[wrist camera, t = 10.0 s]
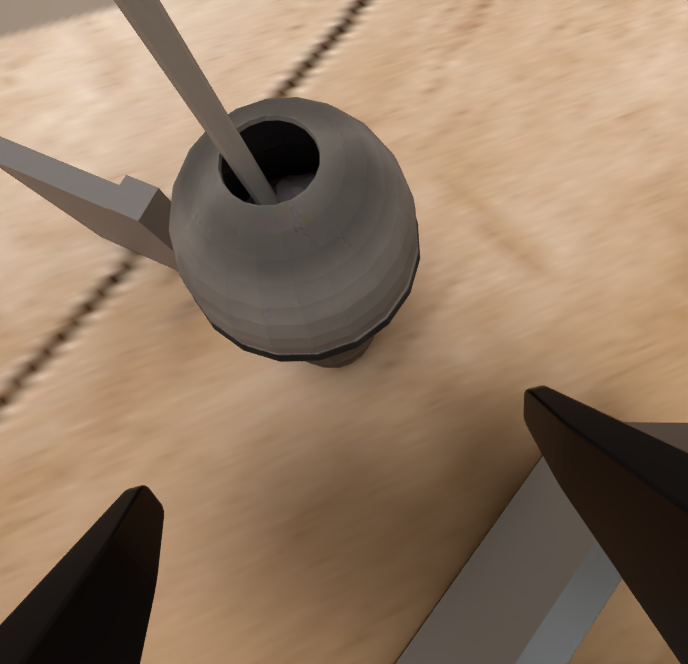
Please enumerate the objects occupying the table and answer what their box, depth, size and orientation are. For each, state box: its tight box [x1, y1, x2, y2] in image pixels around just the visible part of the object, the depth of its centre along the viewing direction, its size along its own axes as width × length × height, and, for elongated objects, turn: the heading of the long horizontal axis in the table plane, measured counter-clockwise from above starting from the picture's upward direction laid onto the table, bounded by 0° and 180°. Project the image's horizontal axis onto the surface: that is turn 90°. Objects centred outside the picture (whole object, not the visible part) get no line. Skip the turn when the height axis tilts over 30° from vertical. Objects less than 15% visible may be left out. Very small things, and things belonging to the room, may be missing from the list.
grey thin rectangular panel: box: [396, 456, 622, 664], centre depth 16 cm, size 17×1×8 cm, turn 140°
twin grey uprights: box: [0, 137, 688, 452], centre depth 19 cm, size 34×2×9 cm, turn 65°
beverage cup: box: [114, 0, 420, 368], centre depth 13 cm, size 7×7×20 cm
